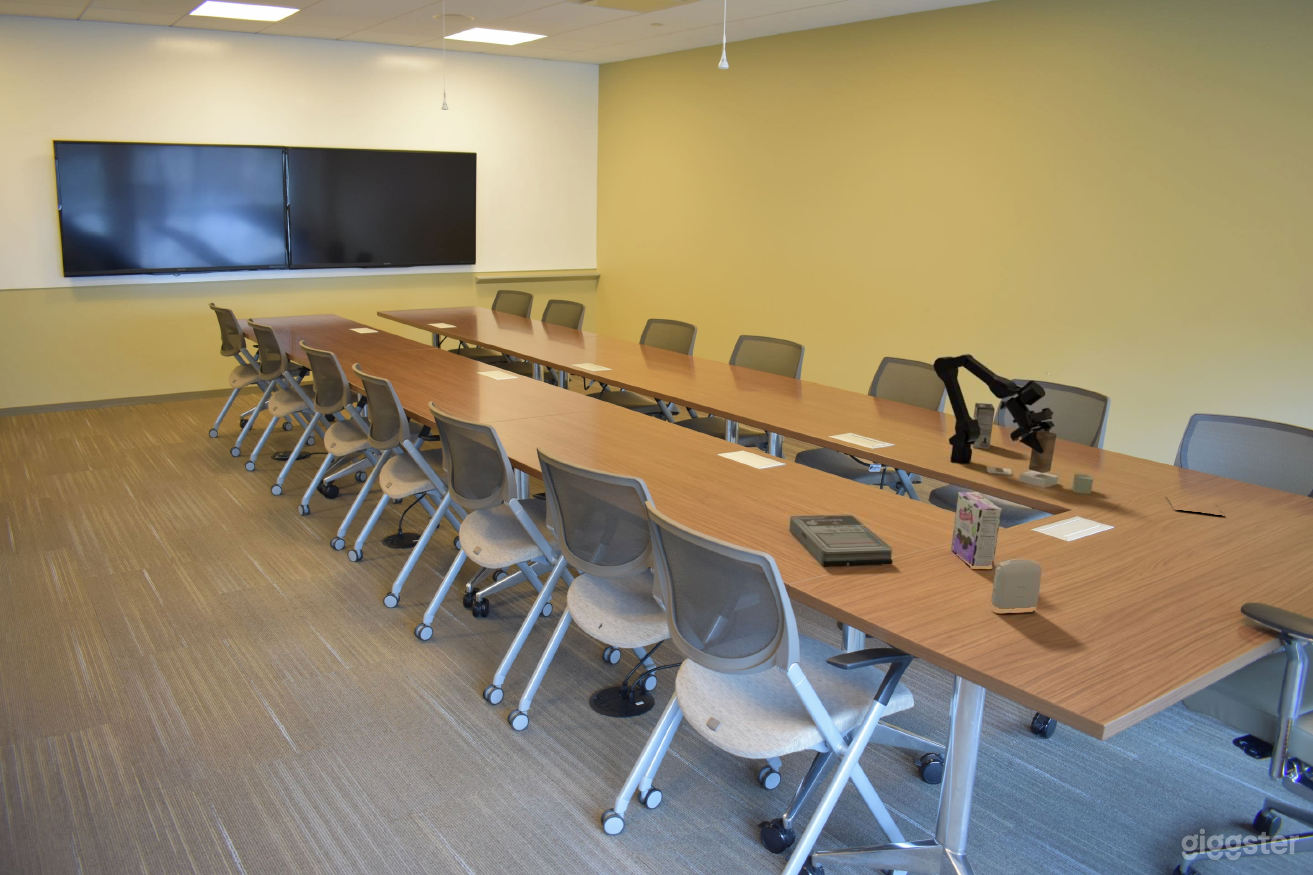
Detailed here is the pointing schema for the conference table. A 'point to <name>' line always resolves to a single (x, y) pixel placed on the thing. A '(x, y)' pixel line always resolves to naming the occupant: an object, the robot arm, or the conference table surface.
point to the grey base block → (1038, 479)
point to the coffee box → (984, 424)
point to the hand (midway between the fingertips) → (1046, 451)
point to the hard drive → (840, 540)
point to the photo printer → (1016, 584)
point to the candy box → (976, 529)
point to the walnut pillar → (1045, 459)
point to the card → (999, 470)
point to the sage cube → (1082, 483)
